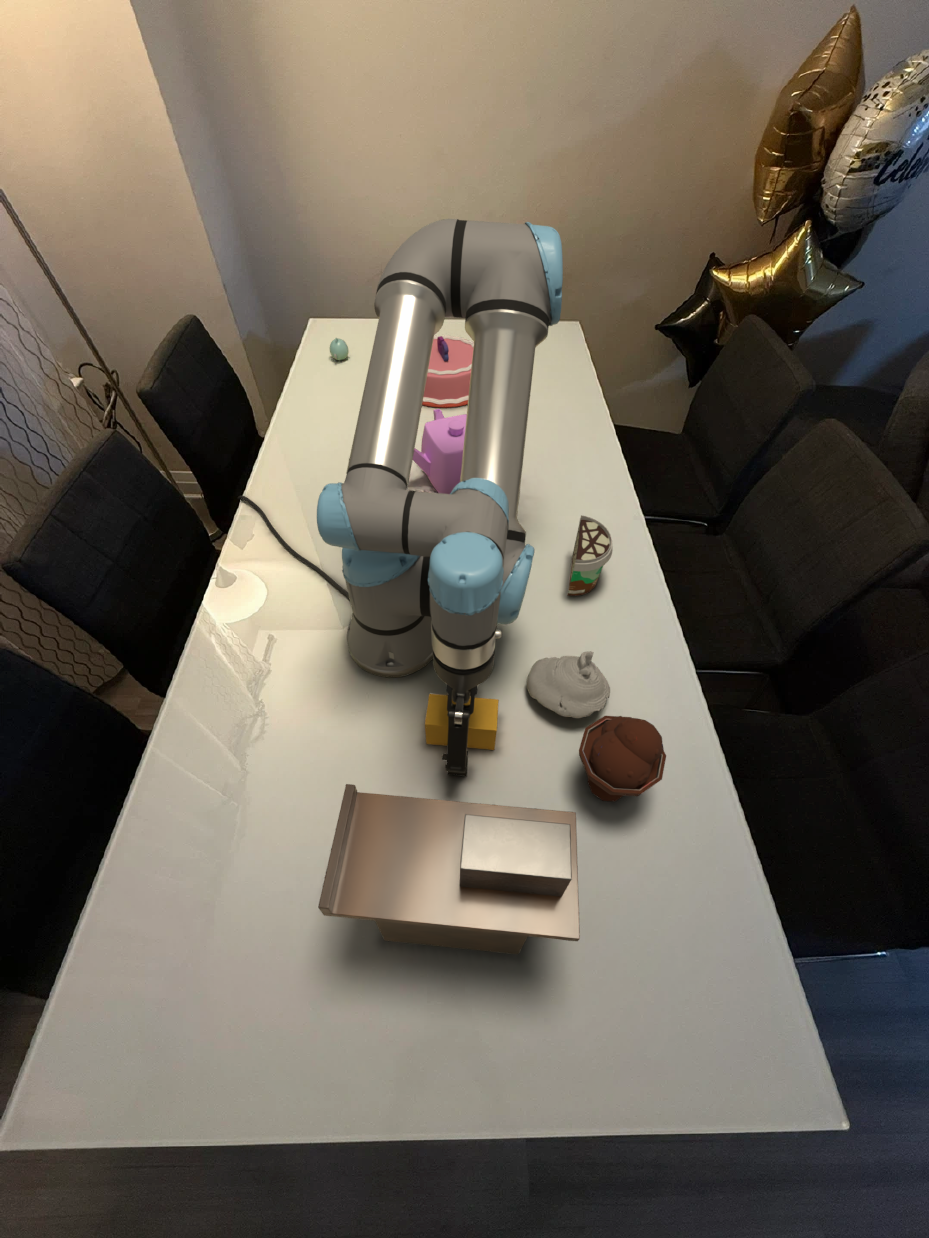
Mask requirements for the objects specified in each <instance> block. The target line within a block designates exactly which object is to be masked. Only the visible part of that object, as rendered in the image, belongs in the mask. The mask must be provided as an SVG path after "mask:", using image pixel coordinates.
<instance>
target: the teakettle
mask: <svg viewBox="0 0 929 1238" xmlns="http://www.w3.org/2000/svg"><path fill="white" fill-rule="evenodd" d="M432 412H433V420H430V421H427V422H425V423H424V427H423V431H422V436H421V437H422V438H421V445H420V446H421V447H420V450H418V449H416V447H415V448H414V454H413V460H412V462H414V464H416V465H417V467H419V468H420V469H421V470H422V471H423V473H424V474H426V476H427V478H428V480H429V482H430V483H431V485H432V487H433V488H434V489H435V490H436V493H443V494H450V493H451V492H452V490H453V488H454V487H455V486H456V485H457V484H458V483H460V477H461V467H462V457H463V447H464V437H465V427H466V417H467V413H464V414H457V415H453V416H448V417H445V416H444V414H443V411H442V410H441V409H440V408H436V409H433V411H432Z"/></svg>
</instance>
